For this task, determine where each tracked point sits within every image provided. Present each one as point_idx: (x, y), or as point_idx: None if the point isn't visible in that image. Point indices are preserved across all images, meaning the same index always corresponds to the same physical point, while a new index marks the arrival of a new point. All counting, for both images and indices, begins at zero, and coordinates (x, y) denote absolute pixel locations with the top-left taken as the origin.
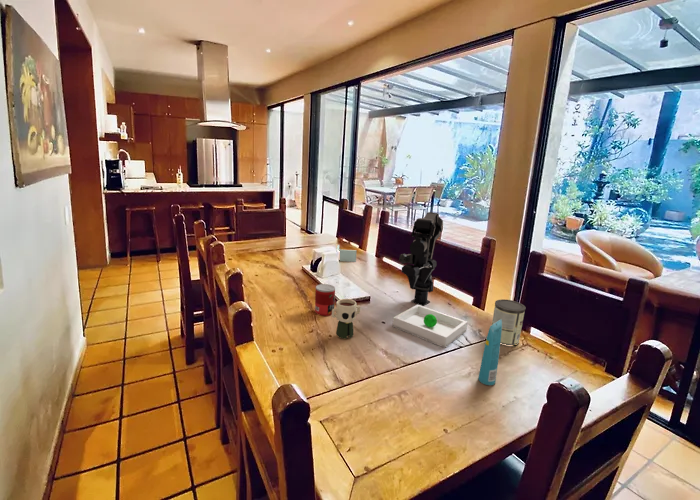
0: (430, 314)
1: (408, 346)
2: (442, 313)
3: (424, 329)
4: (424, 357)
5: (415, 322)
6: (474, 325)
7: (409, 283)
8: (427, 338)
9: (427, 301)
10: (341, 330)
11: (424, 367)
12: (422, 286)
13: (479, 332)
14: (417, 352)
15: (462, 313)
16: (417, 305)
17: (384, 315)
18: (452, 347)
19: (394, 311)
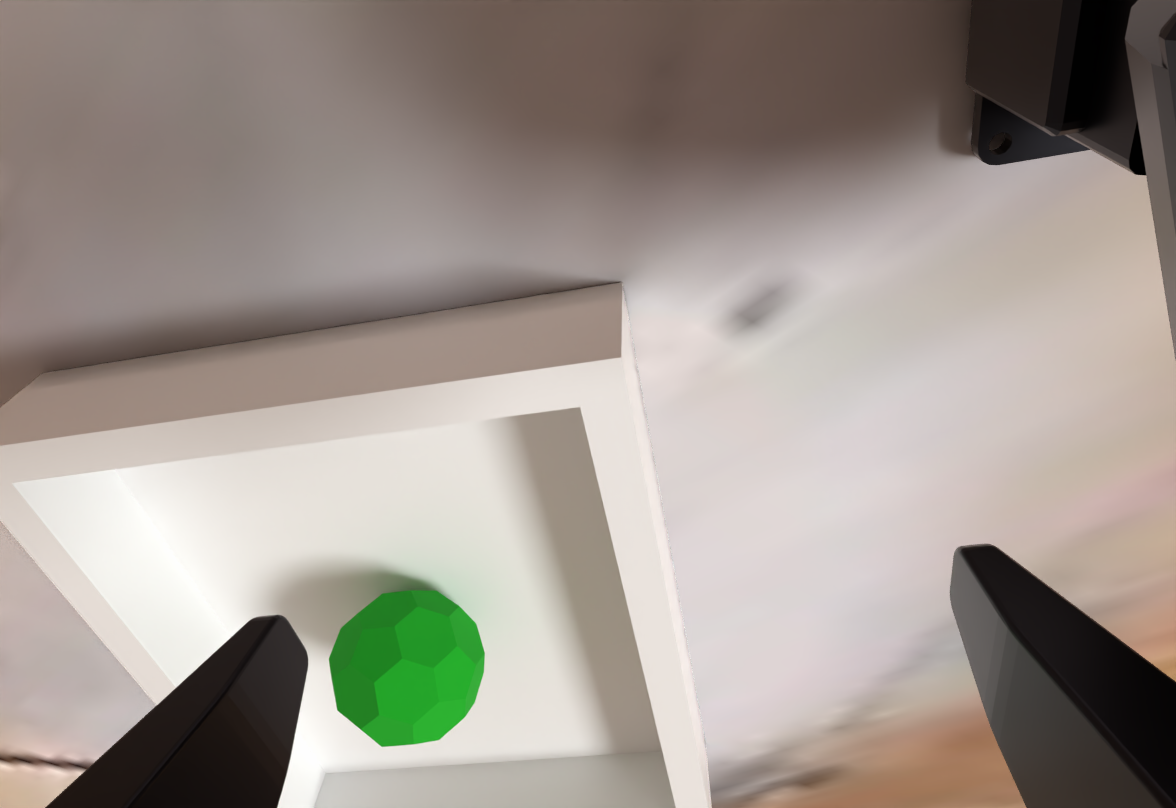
0: (397, 723)
1: (38, 652)
2: (668, 675)
3: None
4: (90, 758)
5: (339, 494)
6: (881, 733)
7: (116, 752)
8: None
9: None
10: None
11: (29, 798)
12: (1169, 292)
13: (778, 788)
14: (71, 715)
15: (1111, 578)
16: (581, 384)
17: (66, 47)
18: None
19: (331, 21)
